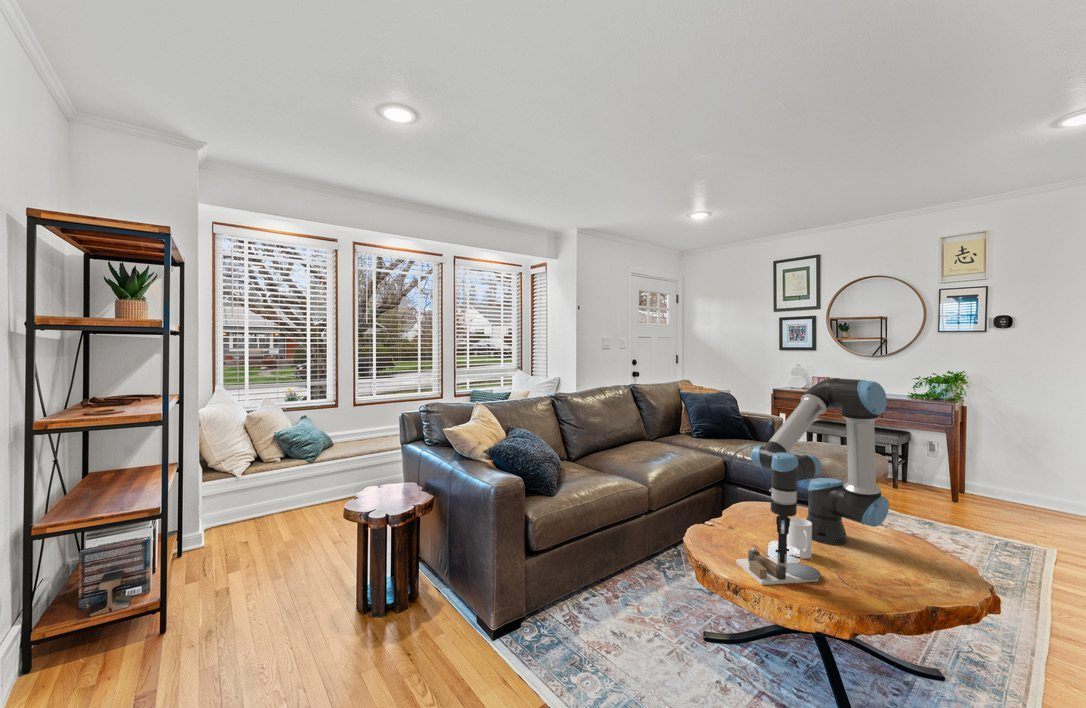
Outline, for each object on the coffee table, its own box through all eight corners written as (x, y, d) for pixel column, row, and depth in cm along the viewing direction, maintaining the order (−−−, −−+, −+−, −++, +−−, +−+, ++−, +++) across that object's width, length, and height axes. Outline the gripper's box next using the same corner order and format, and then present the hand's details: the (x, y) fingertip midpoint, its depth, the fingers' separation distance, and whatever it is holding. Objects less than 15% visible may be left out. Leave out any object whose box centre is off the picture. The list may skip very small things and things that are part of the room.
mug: (818, 564, 163) (819, 530, 163) (792, 561, 165) (793, 528, 165) (807, 549, 175) (808, 518, 174) (782, 547, 177) (783, 516, 176)
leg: (788, 578, 150) (788, 568, 150) (780, 580, 149) (780, 569, 148) (753, 558, 163) (754, 548, 163) (745, 560, 162) (746, 550, 162)
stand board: (795, 559, 167) (796, 541, 167) (828, 582, 151) (829, 563, 151) (736, 562, 164) (736, 545, 164) (763, 586, 148) (763, 567, 148)
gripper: (771, 493, 159) (770, 560, 161) (769, 505, 148) (768, 577, 149) (796, 496, 156) (794, 565, 157) (796, 509, 145) (794, 583, 146)
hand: (781, 571), depth 153 cm, fingers closed
